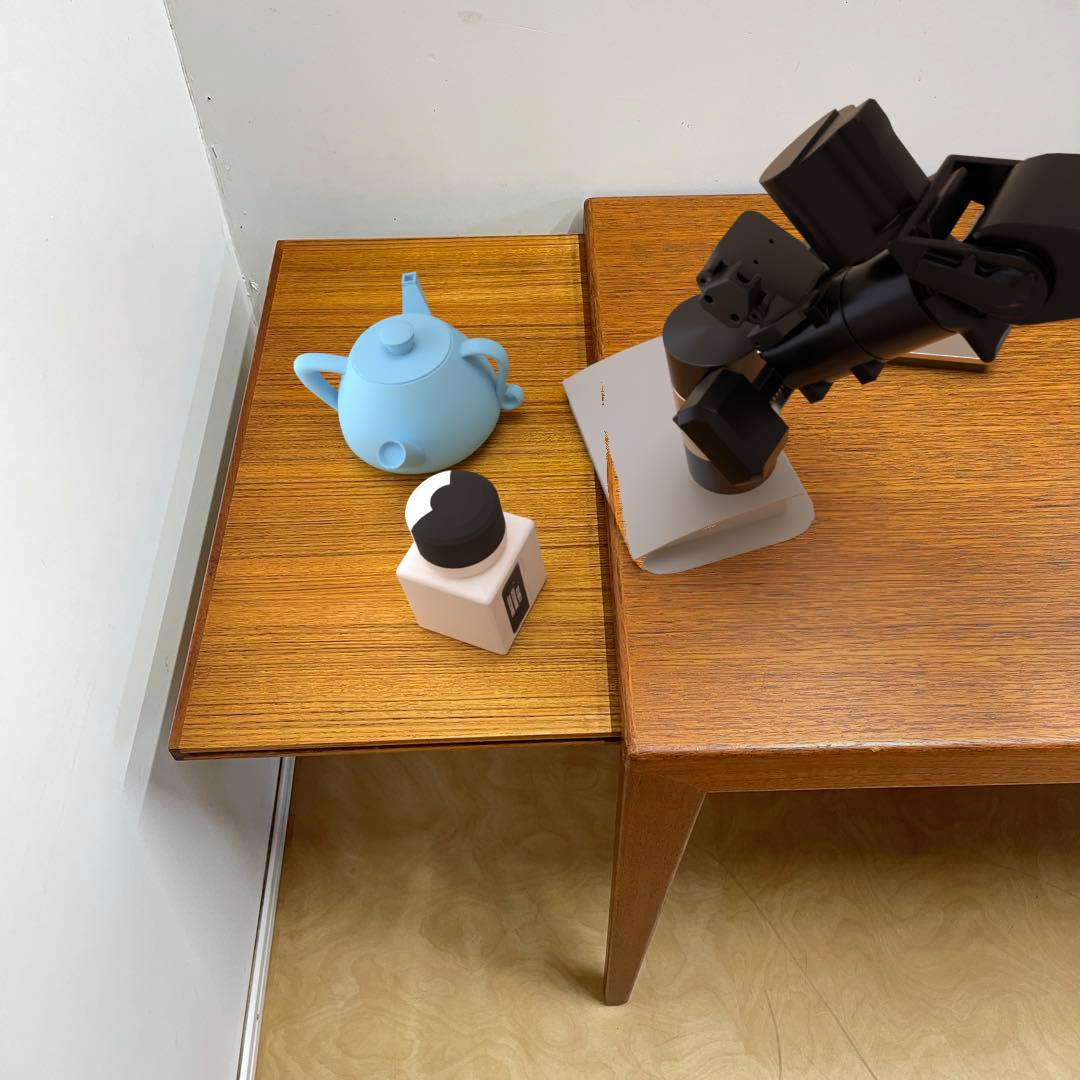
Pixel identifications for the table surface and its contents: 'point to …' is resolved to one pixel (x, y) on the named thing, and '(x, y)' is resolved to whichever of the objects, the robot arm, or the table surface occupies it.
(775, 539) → the book
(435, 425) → the teapot
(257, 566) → the table surface
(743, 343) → the can
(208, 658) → the table surface
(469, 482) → the container
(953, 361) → the platform
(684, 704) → the table surface
